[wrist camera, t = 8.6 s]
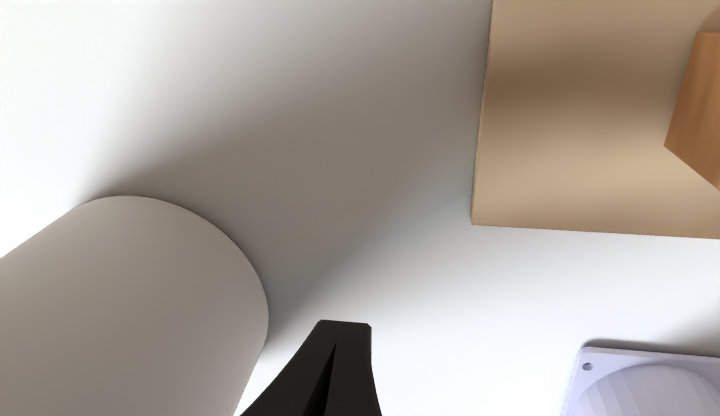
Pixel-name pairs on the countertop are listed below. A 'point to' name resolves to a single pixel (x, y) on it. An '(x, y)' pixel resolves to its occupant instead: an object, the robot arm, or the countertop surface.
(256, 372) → the countertop surface
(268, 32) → the countertop surface
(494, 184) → the base board
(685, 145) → the brown piece
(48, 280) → the cylinder vase
